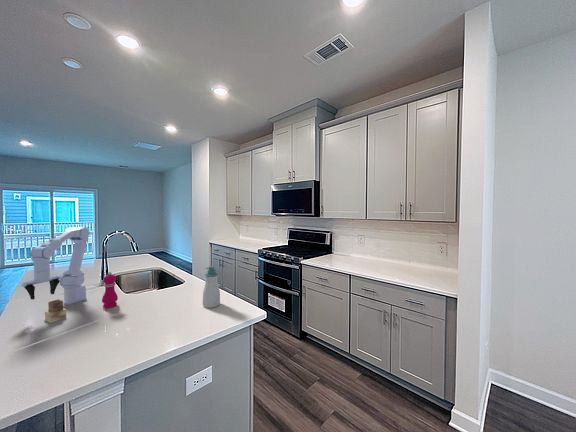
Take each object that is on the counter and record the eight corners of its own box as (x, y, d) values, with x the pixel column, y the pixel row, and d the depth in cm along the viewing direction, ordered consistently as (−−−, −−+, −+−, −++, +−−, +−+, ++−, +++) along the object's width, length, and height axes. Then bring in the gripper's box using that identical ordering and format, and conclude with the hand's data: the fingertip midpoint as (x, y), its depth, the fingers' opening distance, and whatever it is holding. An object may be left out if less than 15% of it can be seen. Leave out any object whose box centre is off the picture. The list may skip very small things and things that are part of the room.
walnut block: (58, 307, 125) (58, 299, 125) (63, 309, 124) (62, 300, 124) (48, 311, 122) (48, 302, 122) (53, 312, 120) (52, 303, 120)
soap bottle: (198, 306, 142) (199, 267, 141) (211, 300, 150) (211, 263, 149) (211, 309, 137) (211, 269, 136) (223, 303, 146) (223, 266, 145)
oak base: (60, 314, 127) (60, 306, 127) (66, 316, 124) (66, 309, 124) (45, 319, 122) (44, 311, 121) (50, 321, 119) (50, 313, 119)
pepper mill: (109, 310, 134) (109, 274, 134) (98, 308, 136) (98, 273, 135) (120, 305, 141) (120, 270, 141) (110, 303, 143) (110, 269, 142)
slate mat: (68, 308, 135) (68, 307, 135) (80, 313, 130) (80, 312, 130) (37, 317, 124) (37, 316, 124) (50, 323, 118) (50, 322, 118)
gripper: (56, 266, 133) (56, 290, 134) (18, 272, 120) (19, 299, 120) (63, 267, 130) (63, 292, 131) (25, 274, 117) (25, 302, 117)
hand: (42, 296), depth 125 cm, fingers open, 7 cm apart
